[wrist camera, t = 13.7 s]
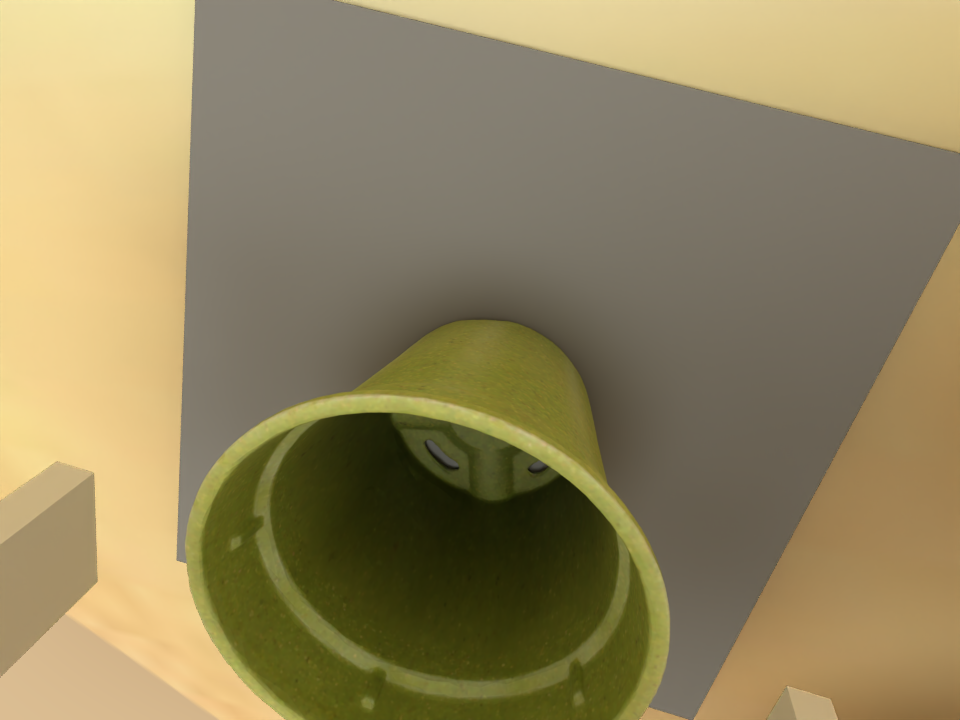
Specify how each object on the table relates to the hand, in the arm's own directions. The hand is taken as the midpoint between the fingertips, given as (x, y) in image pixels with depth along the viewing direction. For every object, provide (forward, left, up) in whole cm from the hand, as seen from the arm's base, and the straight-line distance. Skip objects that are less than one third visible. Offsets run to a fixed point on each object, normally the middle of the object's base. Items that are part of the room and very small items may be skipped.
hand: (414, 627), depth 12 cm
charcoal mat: (0, 0, -9) cm, 9 cm away
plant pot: (0, 0, -9) cm, 9 cm away
